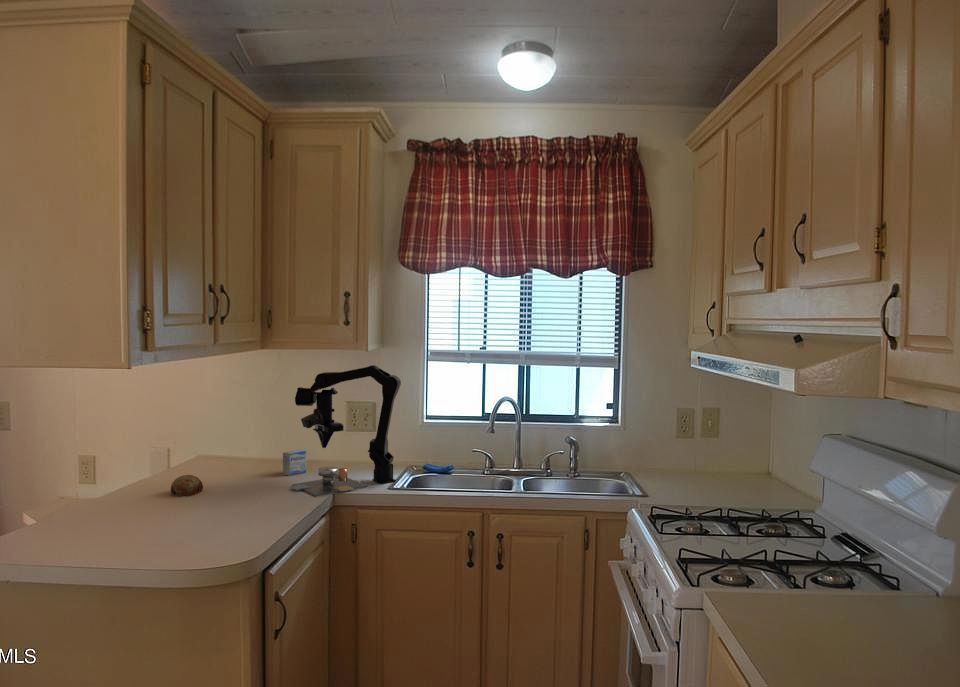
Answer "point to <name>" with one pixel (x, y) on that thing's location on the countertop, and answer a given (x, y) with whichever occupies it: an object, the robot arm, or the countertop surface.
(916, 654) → the countertop surface
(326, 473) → the collar lever
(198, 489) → the bread roll
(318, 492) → the post base
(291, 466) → the medicine box
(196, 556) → the countertop surface
